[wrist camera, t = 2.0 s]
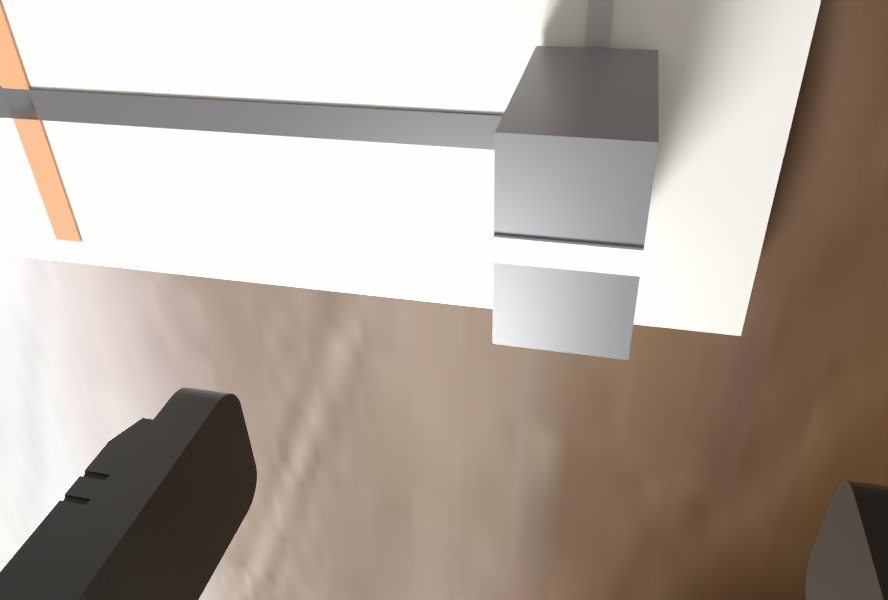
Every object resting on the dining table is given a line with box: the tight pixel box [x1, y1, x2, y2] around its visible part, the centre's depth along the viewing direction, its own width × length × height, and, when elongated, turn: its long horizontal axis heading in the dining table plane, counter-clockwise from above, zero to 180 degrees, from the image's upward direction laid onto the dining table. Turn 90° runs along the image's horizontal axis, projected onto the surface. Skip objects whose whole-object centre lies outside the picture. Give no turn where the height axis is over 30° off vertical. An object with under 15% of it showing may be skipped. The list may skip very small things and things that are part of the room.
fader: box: [492, 46, 659, 360], centre depth 18 cm, size 3×5×6 cm, turn 2°
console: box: [0, 0, 821, 336], centre depth 24 cm, size 30×12×3 cm, turn 92°
